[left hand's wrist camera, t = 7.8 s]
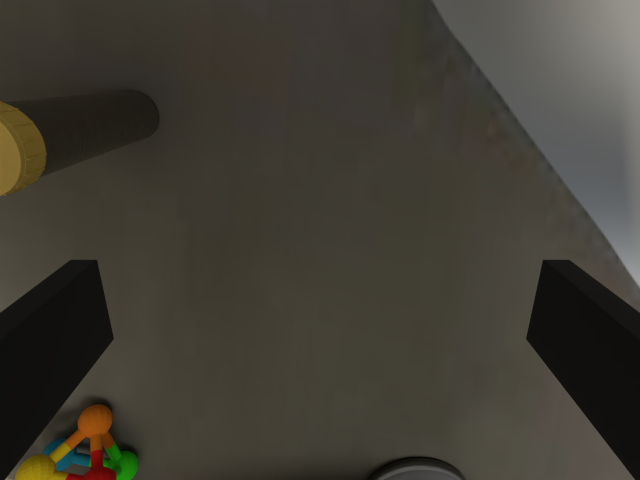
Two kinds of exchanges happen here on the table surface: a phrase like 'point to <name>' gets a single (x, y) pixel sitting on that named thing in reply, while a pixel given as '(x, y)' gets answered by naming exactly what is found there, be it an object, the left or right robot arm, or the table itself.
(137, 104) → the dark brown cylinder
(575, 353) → the left robot arm
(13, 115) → the lid
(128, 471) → the molecular model
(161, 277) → the table surface
